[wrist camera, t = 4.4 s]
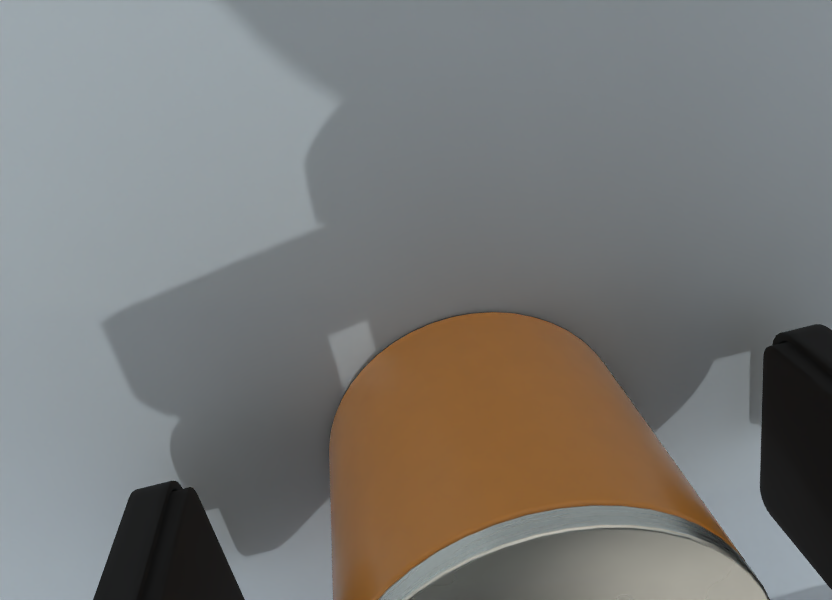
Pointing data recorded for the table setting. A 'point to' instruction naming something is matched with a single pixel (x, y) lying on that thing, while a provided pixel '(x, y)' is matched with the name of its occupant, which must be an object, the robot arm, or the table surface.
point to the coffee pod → (512, 478)
